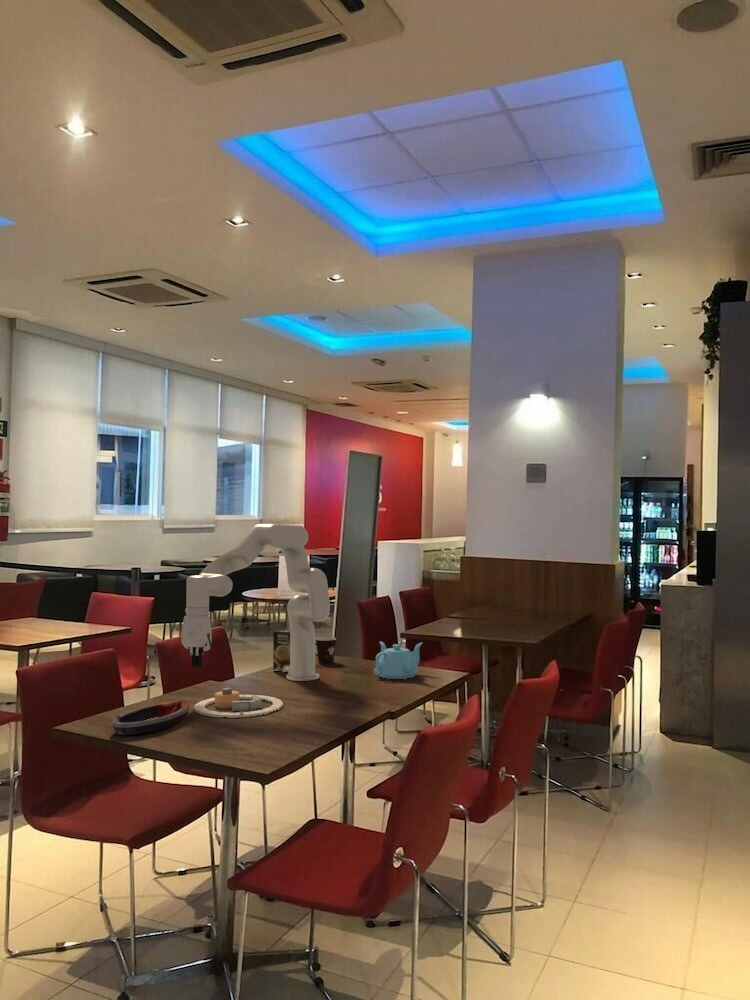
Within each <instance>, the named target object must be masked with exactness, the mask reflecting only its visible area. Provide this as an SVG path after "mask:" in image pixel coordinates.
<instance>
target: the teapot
mask: <svg viewBox="0 0 750 1000" xmlns="http://www.w3.org/2000/svg"><path fill="white" fill-rule="evenodd" d="M422 644H423V642H419V643H417V644H416V645H415V647H414V649H413V651H411V650H410V649H408V648H405V647H404V648H403V647H402V645H401V644H400V643H399V644H396V643H394V644H392V647H390V648H387V646H386V644H385V642H383V641H379V645H380V652H379V653H377V654H376V656H375V664H376V667H375V668H374V669H373V673H374V674H375V675H376V676H377V675H378V676H379V677H380V678H381V677H382V678H381V679H384V678H386V679H385V680H390V679H404V680H408V679H407V678H411V679H413V678H414V677H415V676H416V674H418V670H419V669H418V665H419V664H420V660H421V658H420V656H421V655H420V648H421V647H422ZM412 677H413V678H412Z"/></svg>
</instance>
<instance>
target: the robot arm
mask: <svg viewBox="0 0 750 1000" xmlns="http://www.w3.org/2000/svg"><path fill="white" fill-rule="evenodd" d="M308 541H309V533H308V531H307V530H306V528H305V527H303V526H302V525H294V524H293V525H290V524H289V525H286V524H278V523H277V524H276V523H257V524H255V525H254V526H252V527H251V528H250V529H249V530H248V531H247V532H246V533H245V535H244V536H243V537H242V538H241V539H240V540H239V541H238V542H237V543H236V544H235V545H234V547H233V548H231V549H230V550H228V551H227V552H225V553H223V554H222V555H220V556H219V557H217V558H215V559H214V560H212V561H211V562H210V563H208V565H206V566H205V568H203V570H202V571H201V572H200V573H199V575H197V574H195V575H189V576H188V577H187V578H186V594H185V595H186V599H185V600H186V601H185V602H186V604H185V605H186V606H185V607H186V608H185V609H184V611H185V616H183V621H182V627H181V636H180V637H181V639H180V640H181V642H180V643H181V645H182V646H183V647H184V649H187V650H188V651H189V655H190V656H191V668H195V669H196V668H201V667H202V666H203V665H202V664H203V656H204V654H205V652H207V651H210V650H211V645H212V640H213V636H212V622H211V617H210V597H225V596H227V595H228V594H230V593H231V592H232V589H233V587H234V586H233V581H232V579H231V578H230V577H229V576H228V575H229V574H231V573H233V572H236V571H240V570H243V569H245V568H247V567H249V566H251V565H252V563H253V562H254V561H255V560H256V559H257V557H259V555H260V554H261V553H262V552H263V551H264V550H265V549H266V548H273V549H274V548H275V549H276V548H277V549H278V550H279V551H280V552H281V553H282V555H283V557H284V560H285V566H286V575H287V576H286V577H287V583H288V587H289V589H290V590H291V591H292V592H296V593H302V594H297V595H294V596H292V597H291V598H290V599H289V600H288V603H287V606H286V607H287V615H288V620H289V622H288V623H289V630H290V666H288V665H285V666H284V668H283V671H288V673H286V675H285V676H286V677H285V678H286V680H289V681H294V682H304V681H305V682H308V681H315V680H318V679H319V678H320V674H319V673H317V672H316V655H315V653H316V645H315V643H316V629H315V625H314V623H313V622H316V623H322V622H324V621H325V620H327V619H328V617H329V614H330V612H331V603H330V602H331V601H330V594H329V592H330V591H329V585H328V578H327V576H326V574H325V572H323V570H321V569H319V568H317V567H316V568H315V567H310V565H309V564H310V563H309V557H308V553H307V550H306V548H305V546H306V544H308ZM306 594H307V595H306Z"/></svg>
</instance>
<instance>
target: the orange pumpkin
mask: <svg viewBox="0 0 750 1000" xmlns="http://www.w3.org/2000/svg"><path fill="white" fill-rule="evenodd" d="M239 695H240V692H239V691H237V690H233V688H232V687H224V688H222V689H221V691H218V692H215V693H214V698H215V703H214V708H217V707H219V708H218V709H232V708H231V707H232V701H241V699H240V696H239Z"/></svg>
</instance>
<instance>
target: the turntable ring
mask: <svg viewBox="0 0 750 1000" xmlns="http://www.w3.org/2000/svg"><path fill="white" fill-rule="evenodd" d="M252 695H253V694H239V696H240V700H252ZM256 695H257V698H258V699H261V701H263V700H265V701H264V702H267V701H268V703H270V702H271V703H270V704H272V705H270V706H269V707H265V708H263V709H262V708H261V709H258V710H254V711H239V712H224V711H223V712H221V711H215V710H209V709H207V708H206V707H207V706H208V705H212V704H215V697H211V698H207V699H203V700H201V701H199V702H198V703H196V704H194V712H195V713H197V714H200V715H201V716H206V717H212V718H223V717H227V719H235V718H236V719H237V718H252V717H257V715H258V716H263V714H264V715H269V714H271V713H270V712H272V713H273V711H275V712H277V711H276V710H278V711H279V710H280V709H281V708H283V707H284V703H283V701H282V699H279V698H277V697H273V696H270V695H269V696H268V695H262V694H256ZM282 706H283V707H282ZM268 713H269V714H268ZM251 716H252V717H251Z"/></svg>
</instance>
